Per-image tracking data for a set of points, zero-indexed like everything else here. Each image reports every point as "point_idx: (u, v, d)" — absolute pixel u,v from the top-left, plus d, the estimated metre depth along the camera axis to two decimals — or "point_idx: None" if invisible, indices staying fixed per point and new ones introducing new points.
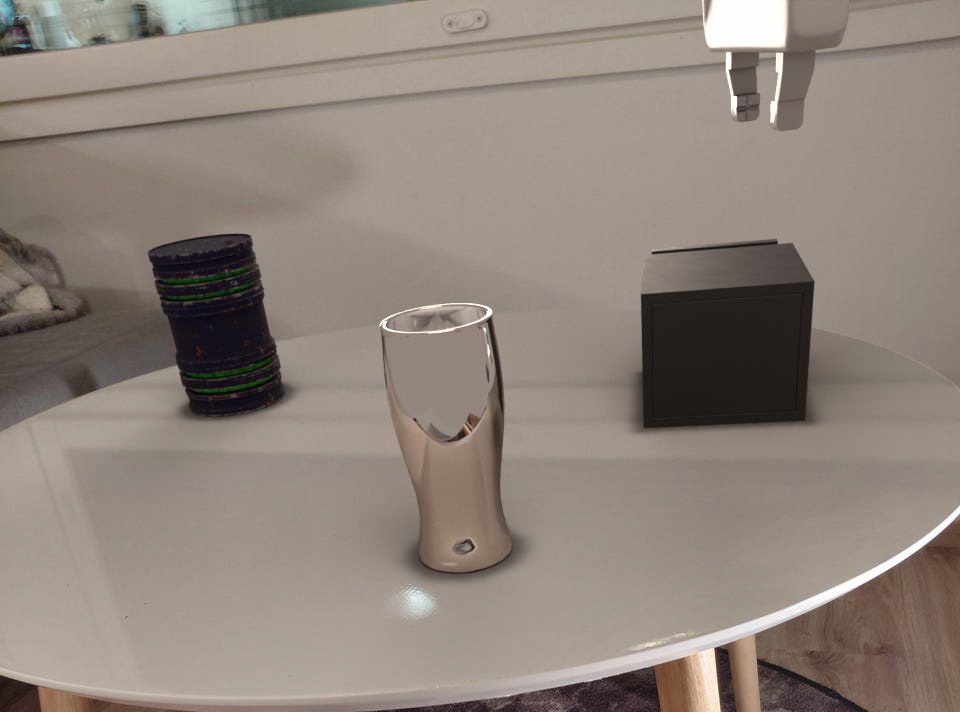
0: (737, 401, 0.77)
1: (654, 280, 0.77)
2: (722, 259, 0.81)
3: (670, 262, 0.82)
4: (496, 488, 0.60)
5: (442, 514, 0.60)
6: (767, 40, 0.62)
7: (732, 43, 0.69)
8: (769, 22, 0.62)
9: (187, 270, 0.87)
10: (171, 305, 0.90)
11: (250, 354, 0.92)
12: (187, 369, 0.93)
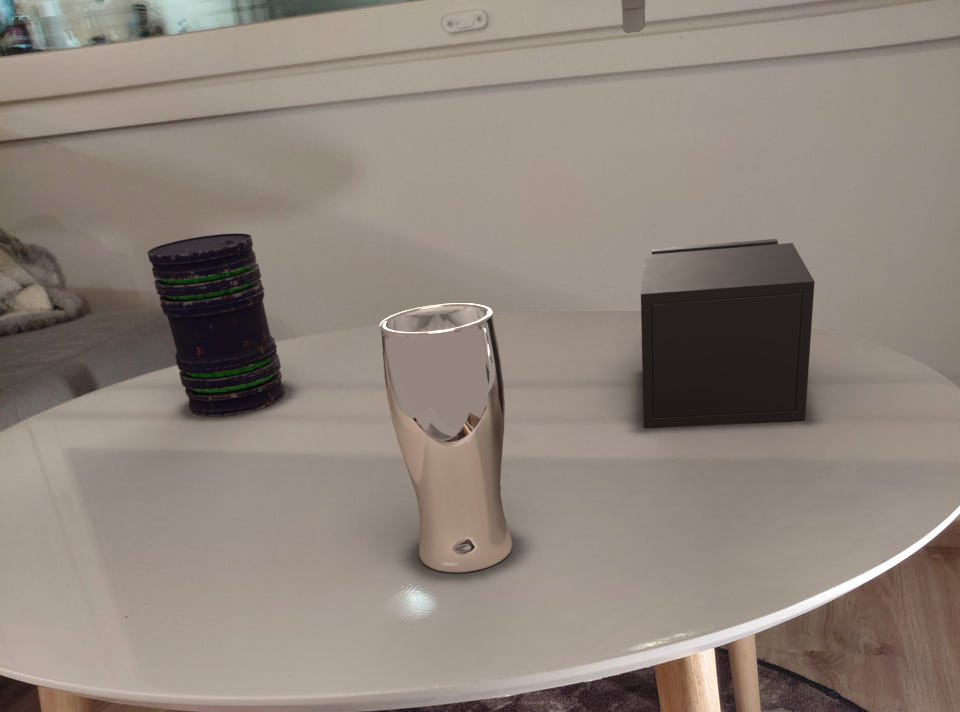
0: (737, 401, 0.77)
1: (654, 280, 0.77)
2: (722, 259, 0.81)
3: (670, 262, 0.82)
4: (496, 488, 0.60)
5: (442, 514, 0.60)
6: None
7: None
8: None
9: (187, 270, 0.87)
10: (171, 305, 0.90)
11: (250, 354, 0.92)
12: (187, 369, 0.93)
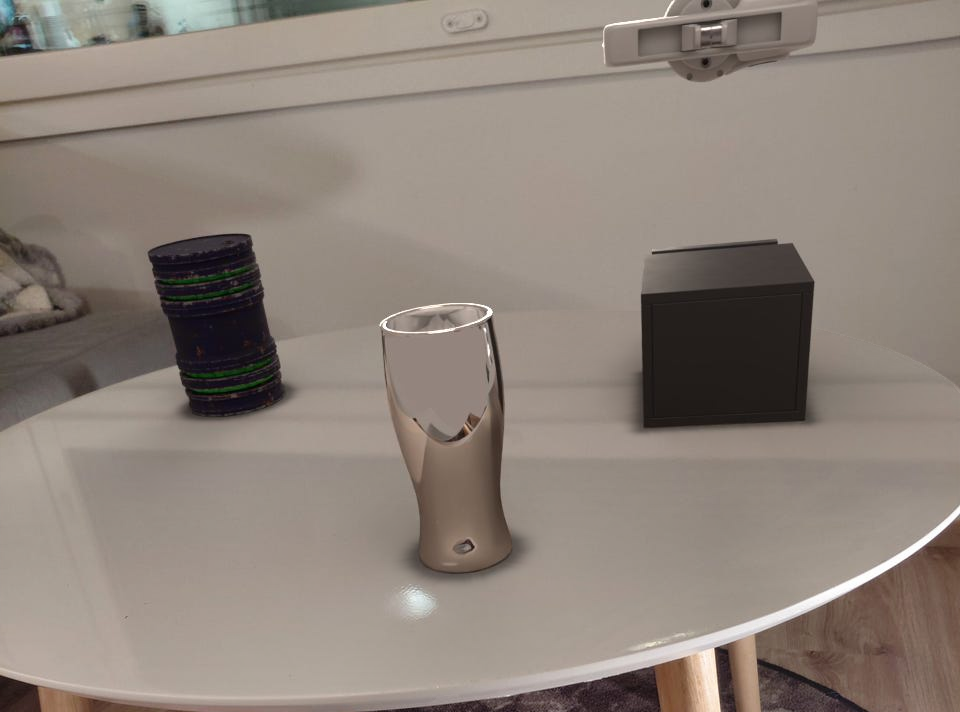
0: (737, 401, 0.77)
1: (654, 280, 0.77)
2: (722, 259, 0.81)
3: (670, 262, 0.82)
4: (496, 488, 0.60)
5: (442, 514, 0.60)
6: None
7: (732, 53, 0.94)
8: None
9: (187, 270, 0.87)
10: (171, 305, 0.90)
11: (250, 354, 0.92)
12: (187, 369, 0.93)
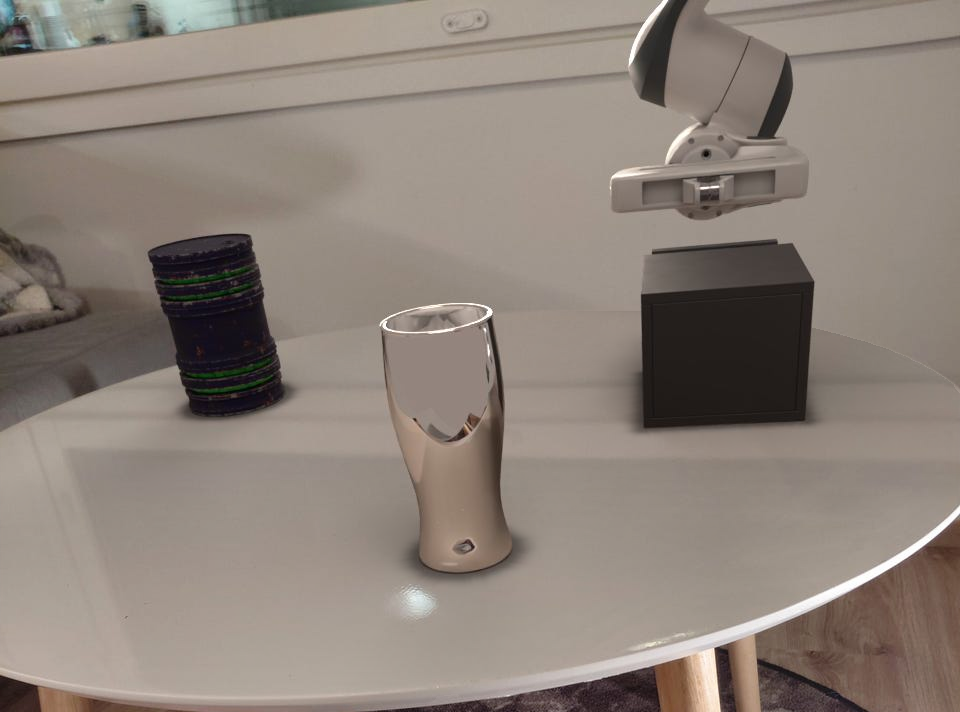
0: (737, 401, 0.77)
1: (654, 280, 0.77)
2: (722, 259, 0.81)
3: (670, 262, 0.82)
4: (496, 488, 0.60)
5: (442, 514, 0.60)
6: None
7: (729, 203, 1.02)
8: None
9: (187, 270, 0.87)
10: (171, 305, 0.90)
11: (250, 354, 0.92)
12: (187, 369, 0.93)
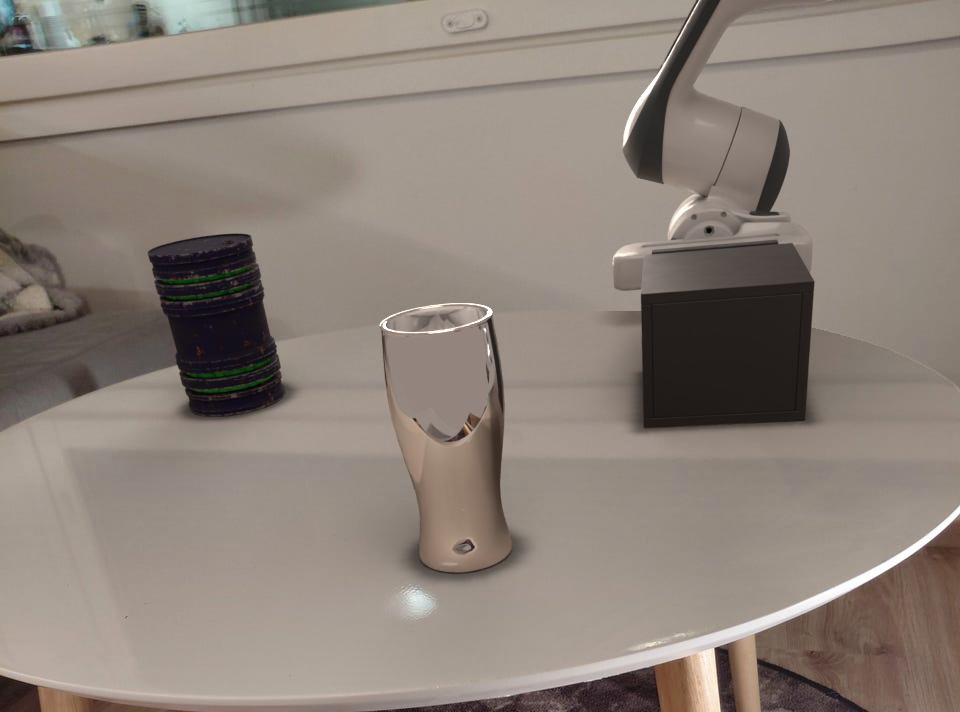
0: (737, 401, 0.77)
1: (654, 280, 0.77)
2: (722, 259, 0.81)
3: (670, 262, 0.82)
4: (496, 488, 0.60)
5: (442, 514, 0.60)
6: None
7: None
8: None
9: (187, 270, 0.87)
10: (171, 305, 0.90)
11: (250, 354, 0.92)
12: (187, 369, 0.93)
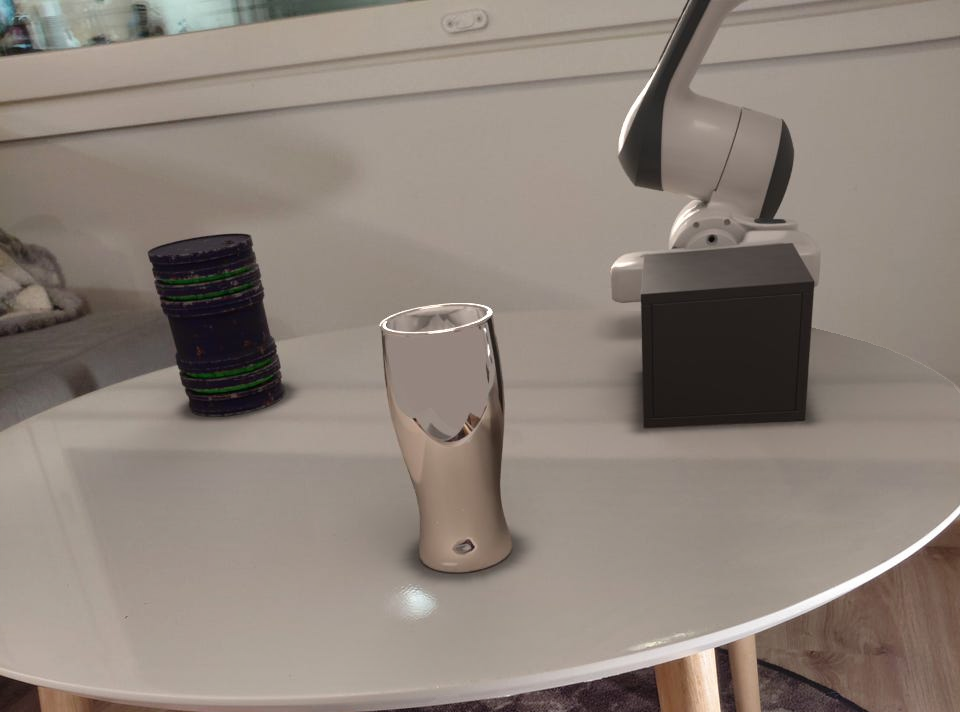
0: (737, 401, 0.77)
1: (654, 280, 0.77)
2: (722, 259, 0.81)
3: (670, 262, 0.82)
4: (496, 488, 0.60)
5: (442, 514, 0.60)
6: None
7: None
8: None
9: (187, 270, 0.87)
10: (171, 305, 0.90)
11: (250, 354, 0.92)
12: (187, 369, 0.93)
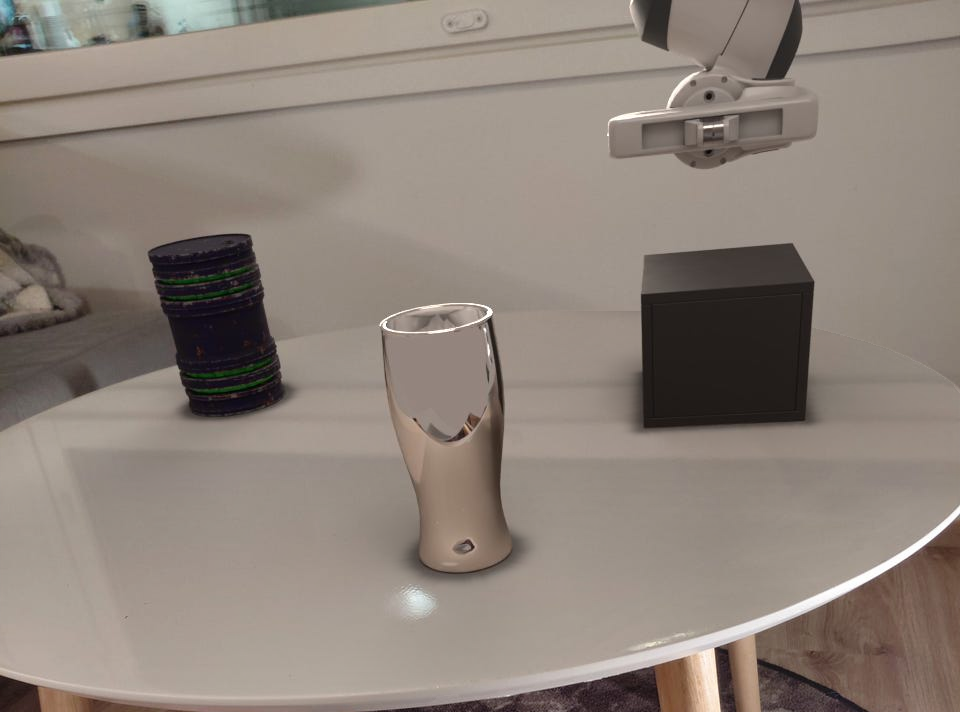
0: (737, 401, 0.77)
1: (654, 280, 0.77)
2: (722, 259, 0.81)
3: (670, 262, 0.82)
4: (496, 488, 0.60)
5: (442, 514, 0.60)
6: (653, 155, 0.98)
7: (734, 146, 0.96)
8: None
9: (187, 270, 0.87)
10: (171, 305, 0.90)
11: (250, 354, 0.92)
12: (187, 369, 0.93)
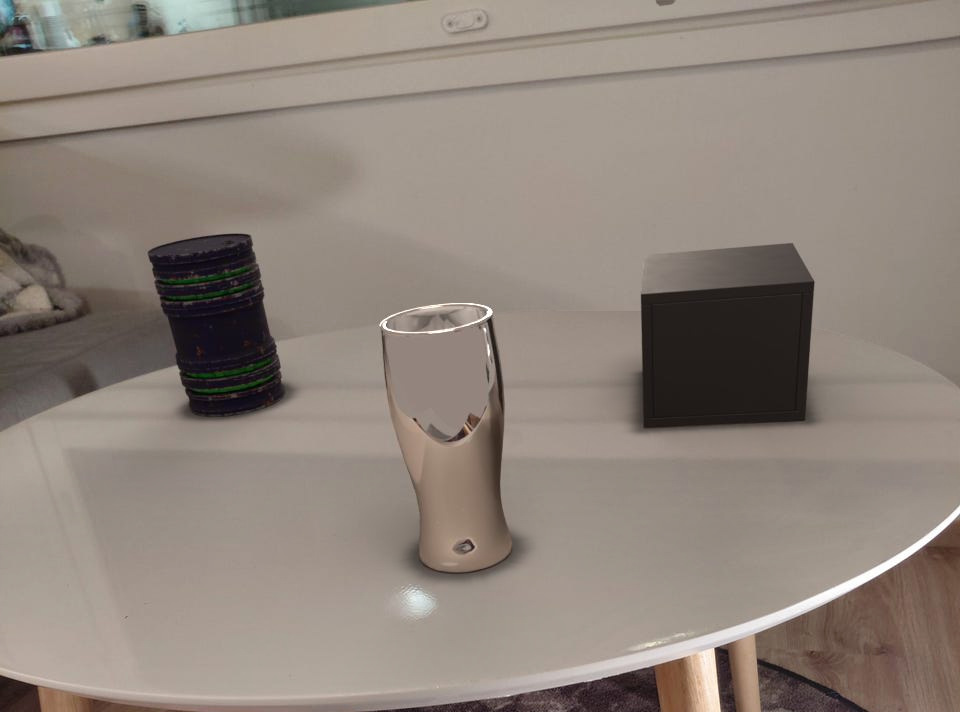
0: (737, 401, 0.77)
1: (654, 280, 0.77)
2: (722, 259, 0.81)
3: (670, 262, 0.82)
4: (496, 488, 0.60)
5: (442, 514, 0.60)
6: None
7: None
8: None
9: (187, 270, 0.87)
10: (171, 305, 0.90)
11: (250, 354, 0.92)
12: (187, 369, 0.93)
